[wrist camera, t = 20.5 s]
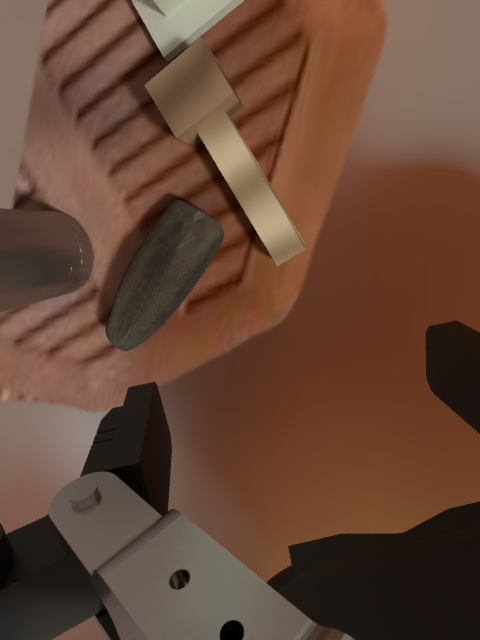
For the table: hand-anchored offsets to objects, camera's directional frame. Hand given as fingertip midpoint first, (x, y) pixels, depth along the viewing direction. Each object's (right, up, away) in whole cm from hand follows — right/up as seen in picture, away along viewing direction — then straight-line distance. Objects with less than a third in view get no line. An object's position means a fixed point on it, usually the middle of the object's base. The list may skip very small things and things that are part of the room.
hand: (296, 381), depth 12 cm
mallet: (-1, +16, +27) cm, 32 cm away
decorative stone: (-9, +6, +32) cm, 34 cm away
